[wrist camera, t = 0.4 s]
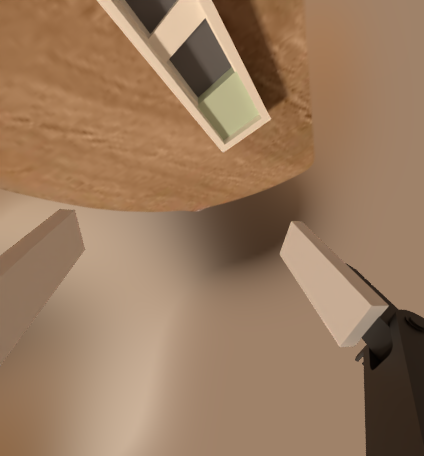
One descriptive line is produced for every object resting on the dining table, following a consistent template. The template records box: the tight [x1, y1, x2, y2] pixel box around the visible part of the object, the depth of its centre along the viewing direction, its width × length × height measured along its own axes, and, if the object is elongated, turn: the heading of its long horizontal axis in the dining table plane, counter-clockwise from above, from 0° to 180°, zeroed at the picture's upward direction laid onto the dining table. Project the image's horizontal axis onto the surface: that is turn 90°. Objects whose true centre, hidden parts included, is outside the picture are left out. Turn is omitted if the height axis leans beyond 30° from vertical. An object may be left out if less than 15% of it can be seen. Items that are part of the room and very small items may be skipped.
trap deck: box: [97, 0, 271, 152], centre depth 25 cm, size 36×10×4 cm, turn 37°
